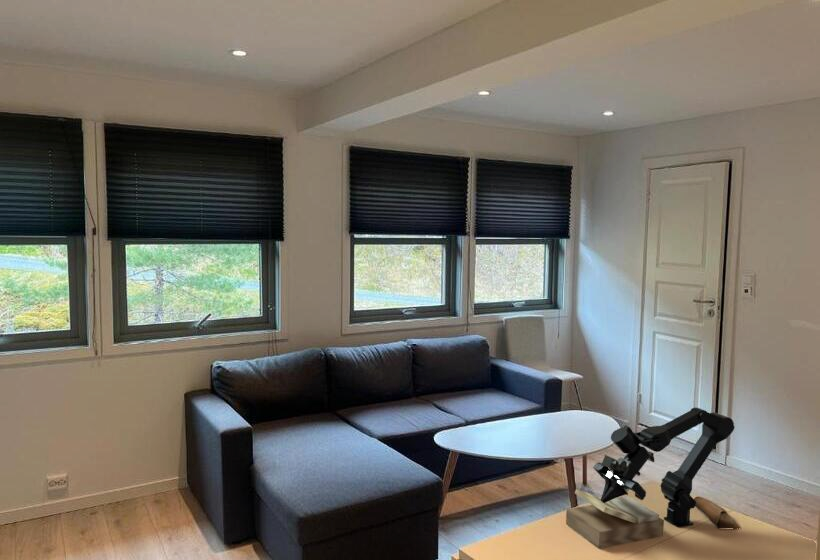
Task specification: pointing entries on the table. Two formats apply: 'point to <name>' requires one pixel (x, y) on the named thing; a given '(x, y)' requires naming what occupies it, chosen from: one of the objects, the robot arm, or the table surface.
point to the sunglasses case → (715, 513)
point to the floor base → (615, 523)
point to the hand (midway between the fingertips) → (602, 501)
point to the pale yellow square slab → (605, 506)
